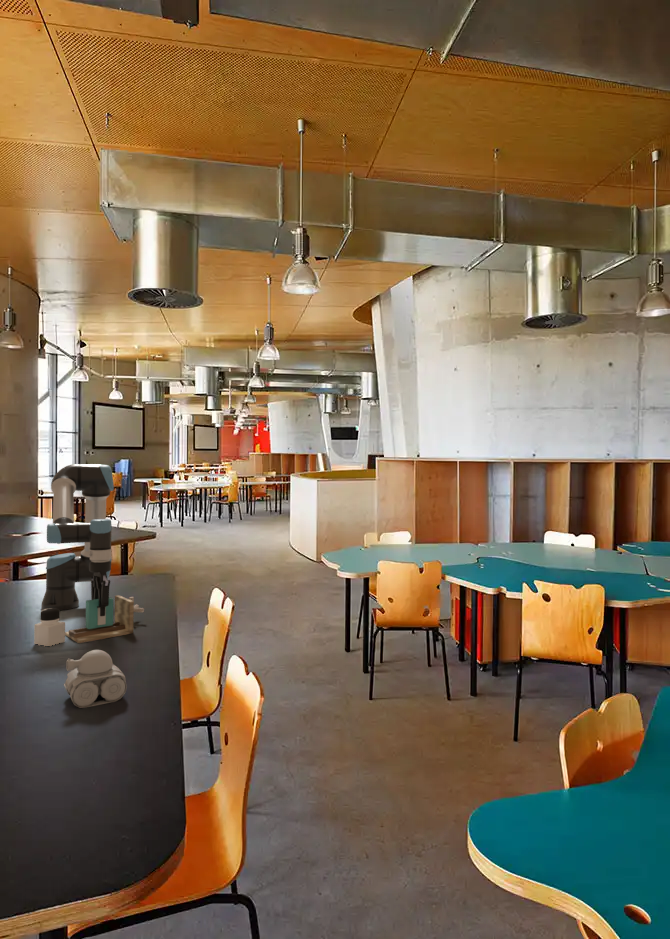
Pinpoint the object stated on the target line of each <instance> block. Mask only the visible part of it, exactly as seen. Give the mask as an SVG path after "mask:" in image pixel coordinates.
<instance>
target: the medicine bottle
mask: <svg viewBox="0 0 670 939" xmlns="http://www.w3.org/2000/svg"><path fill="white" fill-rule="evenodd" d="M60 612H61V610H59V609H56V608H49V609H44V610H43V609H41V611H40V618H39V619H40V622H38V623H35V624H34V629H33V630H34V631H33V633H34V635H33V636H34V639H33V643H34V645H35V644H38V645H37V646H40V645H44V646H43V647H45V646H50V647H53V646H55V644H56V645H59V643H60V644H63V643H65V642H66V635H65V632H66V622H65V621H60ZM52 645H53V646H52Z"/></svg>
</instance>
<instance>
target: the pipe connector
mask: <svg viewBox="0 0 670 939" xmlns="http://www.w3.org/2000/svg"><path fill="white" fill-rule="evenodd" d="M128 599H129V600H132V601H134V602H135V600H134V599H135V596H130V597H129V596H128ZM144 611H145V608H144V607H140V605H139V604H134V613H144Z"/></svg>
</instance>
